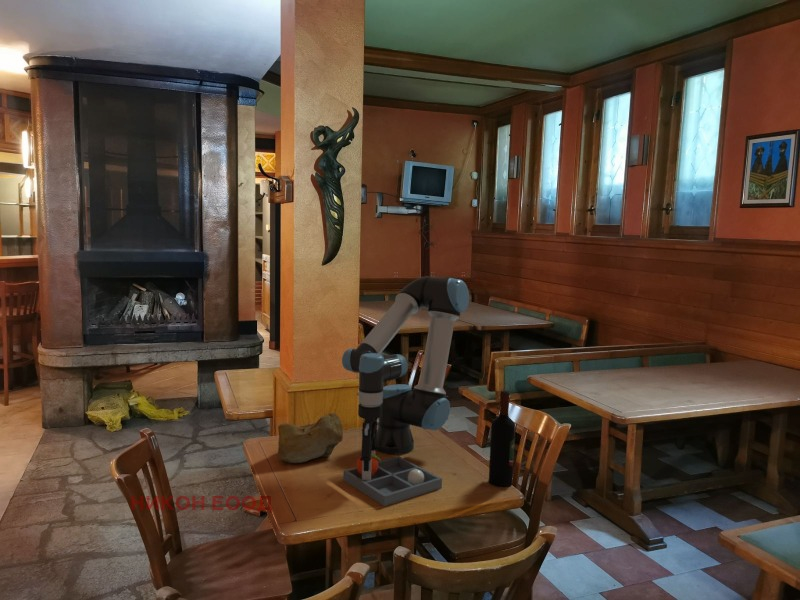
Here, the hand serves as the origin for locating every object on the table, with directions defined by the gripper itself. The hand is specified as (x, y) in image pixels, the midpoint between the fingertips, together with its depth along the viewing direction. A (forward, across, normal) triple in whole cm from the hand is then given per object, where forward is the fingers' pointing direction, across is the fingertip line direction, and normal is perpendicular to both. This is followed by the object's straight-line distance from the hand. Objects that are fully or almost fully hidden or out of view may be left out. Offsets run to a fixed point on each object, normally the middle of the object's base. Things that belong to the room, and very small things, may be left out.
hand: (368, 474), depth 187 cm
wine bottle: (+3, -10, +41) cm, 43 cm away
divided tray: (+3, 0, +8) cm, 8 cm away
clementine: (+1, 0, 0) cm, 1 cm away
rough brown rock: (+4, -21, -26) cm, 33 cm away
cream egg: (+2, 0, +15) cm, 15 cm away
